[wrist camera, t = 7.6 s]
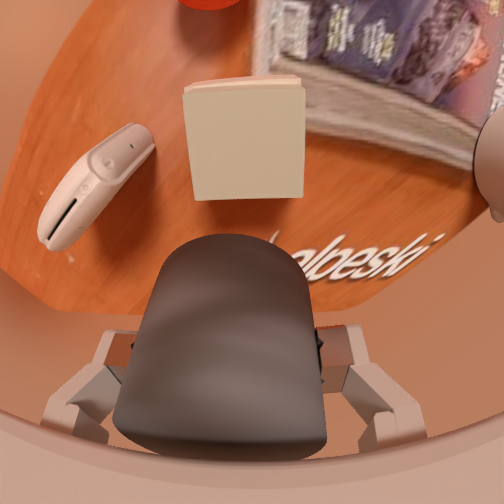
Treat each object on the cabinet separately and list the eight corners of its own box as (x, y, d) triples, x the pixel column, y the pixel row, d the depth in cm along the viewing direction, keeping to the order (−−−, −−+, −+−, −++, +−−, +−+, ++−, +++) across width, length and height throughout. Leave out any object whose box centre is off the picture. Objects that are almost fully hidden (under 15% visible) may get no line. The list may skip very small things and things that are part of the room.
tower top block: (298, 84, 21) (305, 89, 18) (296, 176, 26) (303, 197, 22) (193, 88, 21) (182, 94, 18) (203, 179, 26) (194, 200, 23)
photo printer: (135, 113, 27) (70, 156, 17) (163, 142, 28) (115, 199, 19) (80, 177, 30) (20, 239, 21) (106, 202, 32) (54, 271, 23)
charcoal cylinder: (309, 227, 10) (341, 397, 5) (307, 338, 14) (318, 464, 9) (138, 241, 11) (71, 388, 6) (180, 343, 14) (157, 460, 9)
